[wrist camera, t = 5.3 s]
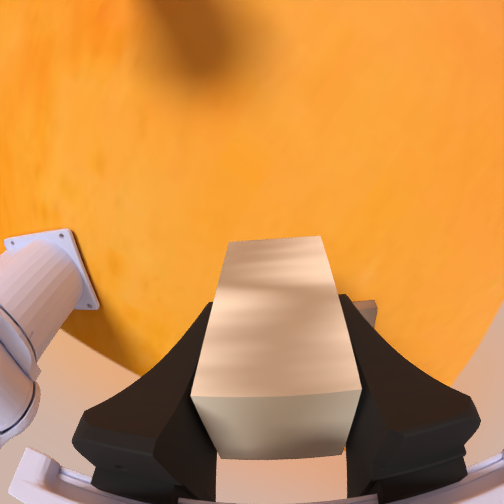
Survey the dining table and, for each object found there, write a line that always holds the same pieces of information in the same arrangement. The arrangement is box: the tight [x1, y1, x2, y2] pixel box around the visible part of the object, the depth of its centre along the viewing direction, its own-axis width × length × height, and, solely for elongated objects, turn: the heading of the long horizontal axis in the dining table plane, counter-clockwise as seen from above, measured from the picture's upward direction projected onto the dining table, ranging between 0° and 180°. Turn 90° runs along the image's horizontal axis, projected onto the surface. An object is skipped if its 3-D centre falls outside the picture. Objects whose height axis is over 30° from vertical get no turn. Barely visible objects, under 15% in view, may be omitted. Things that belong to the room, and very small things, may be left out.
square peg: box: [190, 236, 362, 460], centre depth 11 cm, size 4×4×8 cm
